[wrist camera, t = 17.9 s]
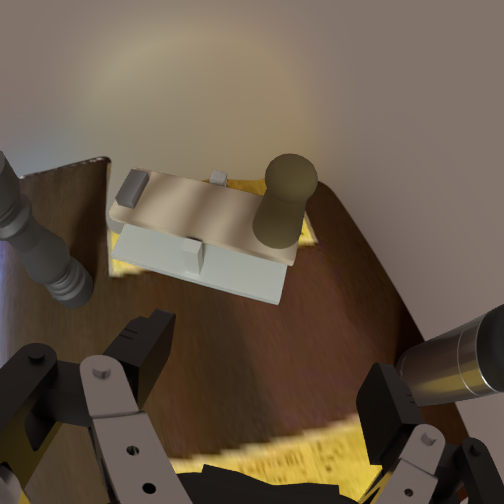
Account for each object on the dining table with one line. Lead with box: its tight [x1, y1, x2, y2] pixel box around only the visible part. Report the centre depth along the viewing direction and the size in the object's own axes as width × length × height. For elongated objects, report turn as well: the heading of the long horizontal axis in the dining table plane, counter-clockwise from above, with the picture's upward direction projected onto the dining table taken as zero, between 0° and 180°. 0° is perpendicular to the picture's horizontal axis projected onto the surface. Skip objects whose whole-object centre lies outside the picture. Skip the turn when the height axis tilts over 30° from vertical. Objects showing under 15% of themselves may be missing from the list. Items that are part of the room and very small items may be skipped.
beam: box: [108, 168, 299, 266], centre depth 40 cm, size 24×8×4 cm, turn 77°
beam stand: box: [111, 170, 287, 305], centre depth 43 cm, size 24×14×8 cm, turn 77°
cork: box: [252, 154, 318, 249], centre depth 35 cm, size 6×6×11 cm
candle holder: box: [0, 151, 94, 308], centre depth 30 cm, size 6×6×25 cm
